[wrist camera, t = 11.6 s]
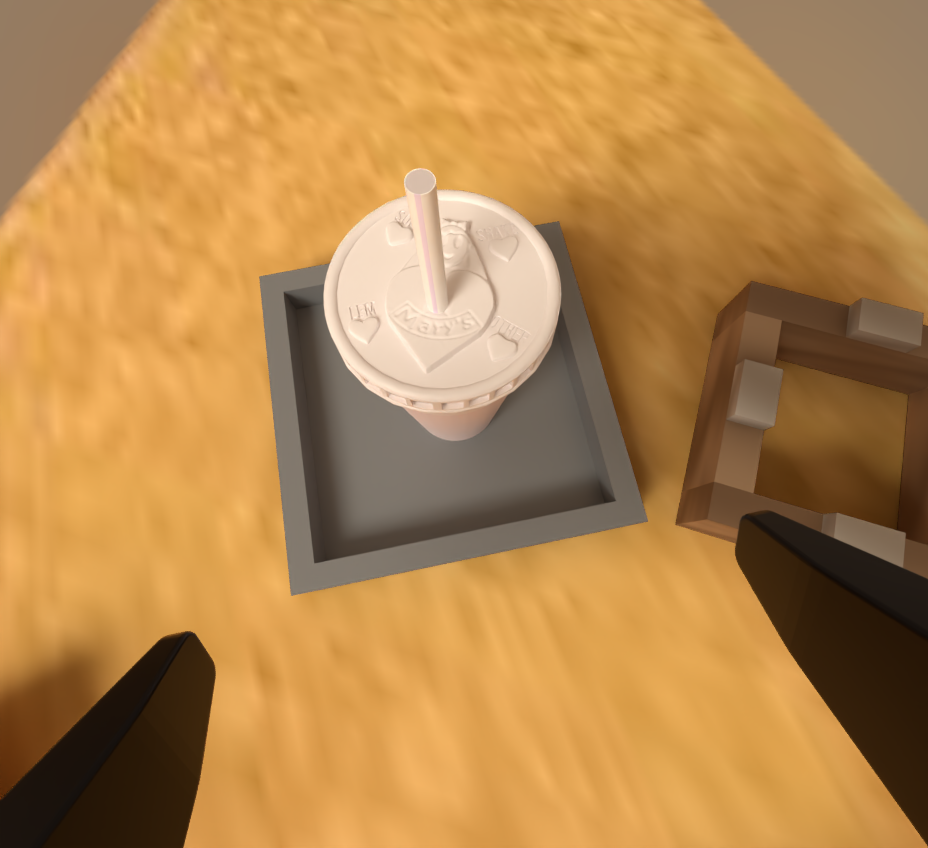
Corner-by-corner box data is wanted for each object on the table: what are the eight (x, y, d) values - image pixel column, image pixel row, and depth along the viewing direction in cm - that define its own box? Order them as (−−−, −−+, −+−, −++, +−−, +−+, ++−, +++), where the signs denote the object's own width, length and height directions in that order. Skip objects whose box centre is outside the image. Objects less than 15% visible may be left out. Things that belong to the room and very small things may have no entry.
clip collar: (929, 603, 20) (1026, 612, 17) (675, 524, 21) (716, 517, 18) (944, 374, 23) (1031, 340, 19) (717, 314, 24) (760, 271, 20)
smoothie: (371, 459, 21) (198, 292, 8) (399, 327, 23) (294, 5, 10) (516, 481, 21) (592, 345, 8) (534, 346, 23) (622, 36, 9)
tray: (629, 525, 21) (648, 521, 19) (311, 591, 21) (291, 595, 18) (551, 252, 25) (559, 221, 23) (279, 303, 24) (259, 276, 22)
